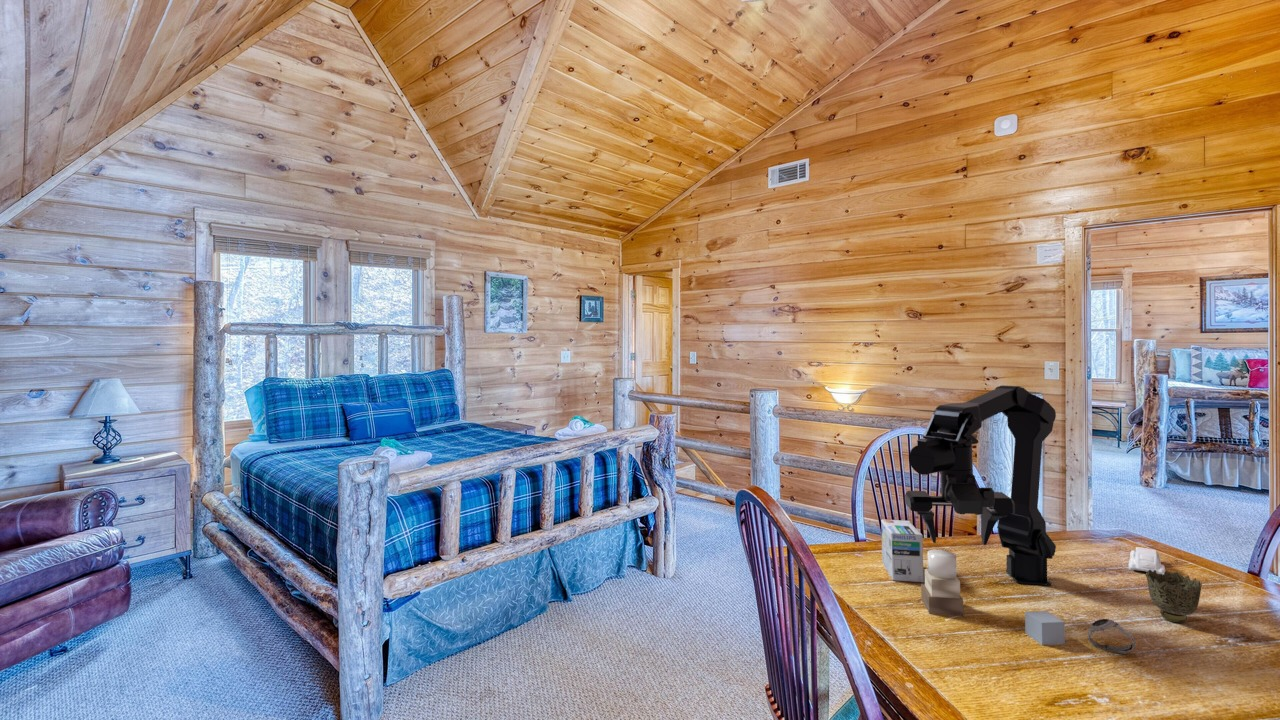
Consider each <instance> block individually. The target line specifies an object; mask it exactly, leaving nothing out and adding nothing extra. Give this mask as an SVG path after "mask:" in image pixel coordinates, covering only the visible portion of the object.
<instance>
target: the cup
mask: <svg viewBox="0 0 1280 720" xmlns="http://www.w3.org/2000/svg"><path fill="white" fill-rule="evenodd" d="M1145 572H1146V571H1145ZM1145 575H1146V581H1147V585H1148V586H1147V587H1148V592H1149V596H1150V601H1152V603H1153V605H1154V606H1156V607H1157V608H1158V609H1160V610H1159V613H1160V615H1161V617H1162V618H1163V619H1165V620H1167V621H1169V622H1172V623H1176V624H1183V623H1186V622H1187V621H1188V616H1189V615H1192V614H1193V613H1195V612H1196V611H1197V609H1198V606H1199V603H1200V598H1201V591H1202V586H1203V583H1202V582H1201V581H1200V580H1198V579H1197V578H1193V579H1192V580H1191V578H1190V576H1189V575H1186V576H1185V577H1184V576H1183V574H1181V573H1179V572H1178V571H1174V572H1170V571H1168V570H1165V572H1164V574H1163V575H1162V574H1157V573H1156V570H1154V571H1151V570H1149V571H1148V572H1146V573H1145Z"/></svg>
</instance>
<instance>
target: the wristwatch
mask: <svg viewBox="0 0 1280 720" xmlns="http://www.w3.org/2000/svg"><path fill="white" fill-rule="evenodd" d="M1111 628H1115V629H1117V631H1119V632H1121V634H1123V635H1124V636H1125V637H1127V638H1128V639H1129V640H1131V642H1132V643H1131V644H1128V645H1121V646H1118V645H1111V644H1109V643H1106V644H1101V643H1099V642H1096V641H1095V640H1094V639H1093V638H1092V637H1091V636H1092V635H1093V633H1096V632H1104V631H1106V630H1109V629H1111ZM1087 639H1088V640H1089V642H1090V644H1091V646H1093V647H1094V648H1095V649H1099V650H1104V651H1106V652H1111V653H1113V654H1121V655H1127V654H1128V653H1129V652H1132V651H1133V650H1134V649H1135V648H1136V644H1137V643H1136V641H1135V640H1136V639H1135V637H1134V636H1133V635H1132V634H1131V633H1130V632H1128V631H1126V630H1125V629H1124V628H1123V627H1121V625H1119V623H1118V622H1117V621H1115V620H1112V619H1109V618H1101V619H1098V620H1095V621H1094V622H1092V623H1091V625H1090V627H1089V630H1088V632H1087Z"/></svg>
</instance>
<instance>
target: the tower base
mask: <svg viewBox="0 0 1280 720" xmlns="http://www.w3.org/2000/svg"><path fill="white" fill-rule="evenodd" d="M920 588H921V589H920V590H921V591H920V593H921V595H920V596H921V598H920V599H921V602H922V603H923V605H924V607H925V609H926V610H928V611H927V612H928V614H930V615H941V616H950V617H951V616H953V617H964V599H963V597H962V596H961V595H960V599H955V598H942V597H932V596H931V595H930V593H929V591H928V590H927V588H926V587H925V583H921V584H920Z"/></svg>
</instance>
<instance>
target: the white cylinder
mask: <svg viewBox="0 0 1280 720" xmlns="http://www.w3.org/2000/svg"><path fill="white" fill-rule="evenodd" d="M927 569H928V573H929V574H930V575H931V576H934V577H936V578H941V579H954V578H956V577H957V555H956V554H955V553H954V552H951V551H949V550H946V549H945V550H944V549H930V550H927Z"/></svg>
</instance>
